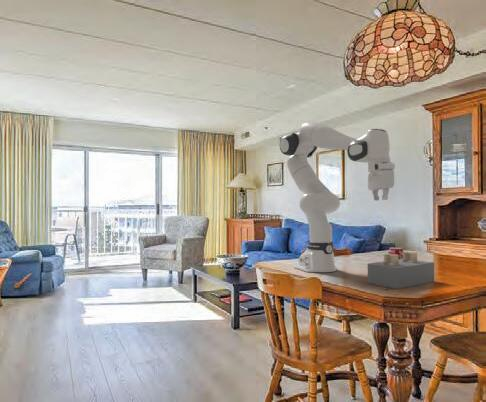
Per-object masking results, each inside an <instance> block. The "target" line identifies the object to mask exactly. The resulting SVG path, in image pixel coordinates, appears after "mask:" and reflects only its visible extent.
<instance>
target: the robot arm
mask: <svg viewBox="0 0 486 402" xmlns="http://www.w3.org/2000/svg"><path fill="white" fill-rule="evenodd" d="M318 148H320V149H326V150H342V151H343V150H344V151H346V152H347V157H348V158H349V160H350V161H353V162H357V163H366V164H367V171H368V176H367V189H368V191H371V193H372V196H373V202H375V201H379V200H380V196H379V190H382V195H381V199H382V201H387V200H388V199H389V192H390V189H392V188H393V187H394V185H395V171H394V170H395V169H396V164H395V163H394V162H391V157H390V138H389V134H388V132H387V131H386V129H382V128H369V129H368V130H367V131H366V133H365V134H364V135H362V136H360V137H359V138H354V137H351V136H348V135H346V134H344V133H342V132H341V131H339V130H336V129H335V128H332V127H330V126H328V125H326V124H323V123H319V122H315V121H307V122H304V123H303V124H302V125H301V127H300V128H299V132H297V133H295V132H291V133H289V134H286V135H284V136H282V138H281V139H280V141H279V149H280V152H281V153H282V154H283V155H285V156H289V157H288V159H287V160H286V166H287V169H288V171H289V173H290V175H291V178H292V179H293V181H294V183H295V184H296V186H297V188H298V189H299V190H300V192H302V193H303V195H302V196H300V199H299V208H300V210H301V211H302V213H304V215H305V217H306V220H307V224H308V230H309V232H308V233H309V242H306V246H307V248H306V250H305V251H304V252H303V253H301V255H300V256H299V258H298V264H296V265H293V268H294V269H297V270H300V271H303V272H306V273H331V272H336V271H337V266H336V263H335V254H334V250H333V249H334V242H333V227H332V224H331V223H330V222H329V220H328V217H327V215H328V214H332V213H334V212H336V211H338V209H339V208H340V205H341V202H340V201H341V200H340V198H339V197H338V195H336V194H334V192H332V191H331V190H330V189H328V187H327V186H326V185H325V184H324V183H323V182H322V181H321V180H320V178H319V177H318V175H317V174H316V173H315V171H314V169H313V168H312V166H311V164H310V163H309V161H308V158H311V157H312V156H313V155H314V153H315V152H316V151H317V149H318Z"/></svg>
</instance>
